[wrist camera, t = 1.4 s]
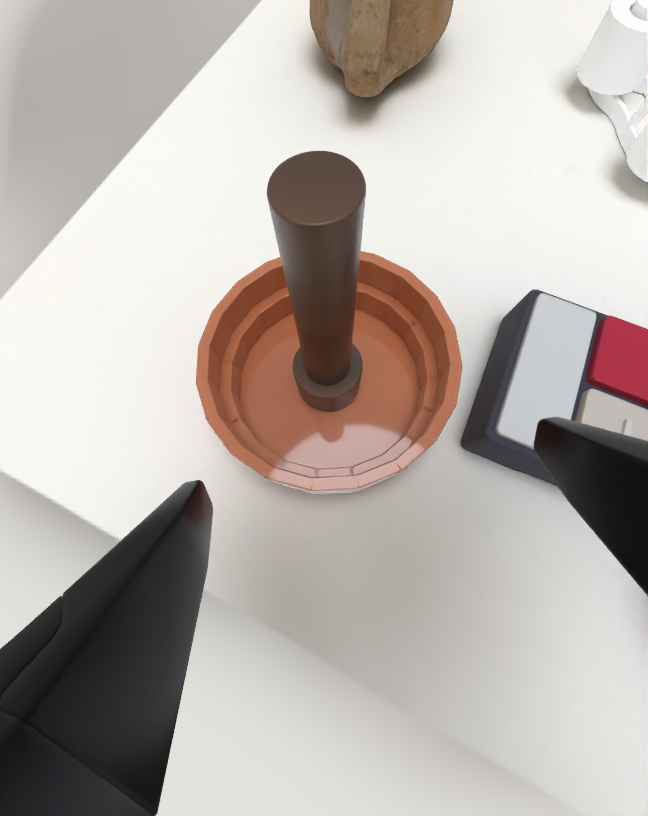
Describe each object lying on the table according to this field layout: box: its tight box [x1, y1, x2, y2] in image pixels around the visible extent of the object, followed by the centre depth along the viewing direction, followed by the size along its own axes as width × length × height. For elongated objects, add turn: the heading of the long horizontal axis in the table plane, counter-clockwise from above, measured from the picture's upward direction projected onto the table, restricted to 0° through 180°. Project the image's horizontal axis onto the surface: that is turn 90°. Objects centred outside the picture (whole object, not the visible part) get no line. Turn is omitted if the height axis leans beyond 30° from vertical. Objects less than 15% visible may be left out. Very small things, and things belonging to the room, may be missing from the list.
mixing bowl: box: [196, 251, 462, 495], centre depth 22 cm, size 15×15×5 cm
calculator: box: [461, 290, 648, 485], centre depth 21 cm, size 11×4×15 cm
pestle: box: [267, 151, 366, 412], centre depth 16 cm, size 4×4×15 cm
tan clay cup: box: [310, 0, 453, 97], centre depth 30 cm, size 18×14×10 cm
